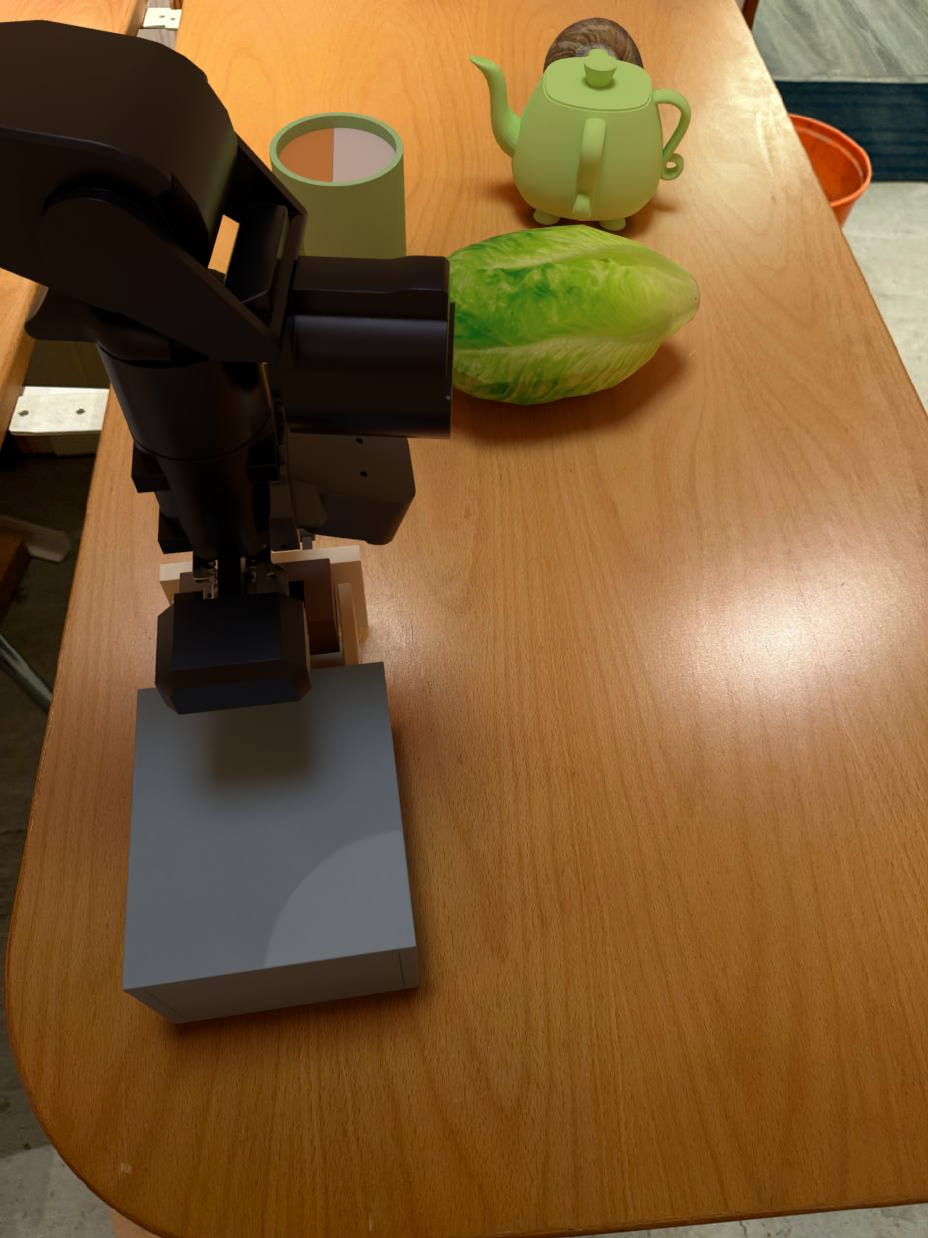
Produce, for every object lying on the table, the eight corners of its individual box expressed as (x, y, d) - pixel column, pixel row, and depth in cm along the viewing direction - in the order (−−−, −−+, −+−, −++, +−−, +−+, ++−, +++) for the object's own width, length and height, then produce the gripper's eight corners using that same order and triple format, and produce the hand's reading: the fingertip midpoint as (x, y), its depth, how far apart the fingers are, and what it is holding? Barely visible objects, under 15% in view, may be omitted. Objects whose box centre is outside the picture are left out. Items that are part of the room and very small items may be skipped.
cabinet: (179, 761, 53) (137, 688, 46) (390, 735, 55) (383, 660, 47) (173, 1024, 46) (121, 990, 38) (419, 987, 47) (416, 946, 39)
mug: (405, 244, 81) (401, 108, 71) (408, 320, 75) (404, 185, 65) (265, 246, 80) (240, 109, 70) (257, 323, 75) (230, 187, 65)
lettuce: (708, 414, 70) (753, 288, 61) (424, 458, 67) (422, 332, 57) (652, 309, 77) (684, 179, 67) (391, 344, 74) (385, 213, 64)
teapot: (549, 271, 80) (567, 129, 69) (462, 190, 86) (466, 48, 75) (687, 215, 85) (723, 75, 74) (596, 142, 91) (617, 4, 80)
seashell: (550, 135, 92) (559, 51, 85) (530, 87, 97) (538, 5, 90) (656, 127, 93) (673, 44, 86) (631, 81, 98) (646, -1, 91)
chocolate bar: (340, 652, 50) (334, 618, 47) (192, 669, 49) (177, 635, 46) (335, 593, 52) (329, 557, 49) (193, 608, 51) (179, 572, 48)
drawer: (189, 577, 60) (161, 506, 53) (361, 559, 61) (353, 488, 55) (184, 835, 50) (150, 784, 44) (388, 808, 51) (382, 755, 45)
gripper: (427, 575, 32) (428, 756, 45) (377, 252, 42) (390, 477, 55) (105, 608, 31) (202, 784, 44) (132, 268, 41) (205, 494, 54)
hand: (261, 618), depth 49 cm, fingers closed on chocolate bar, 4 cm apart
